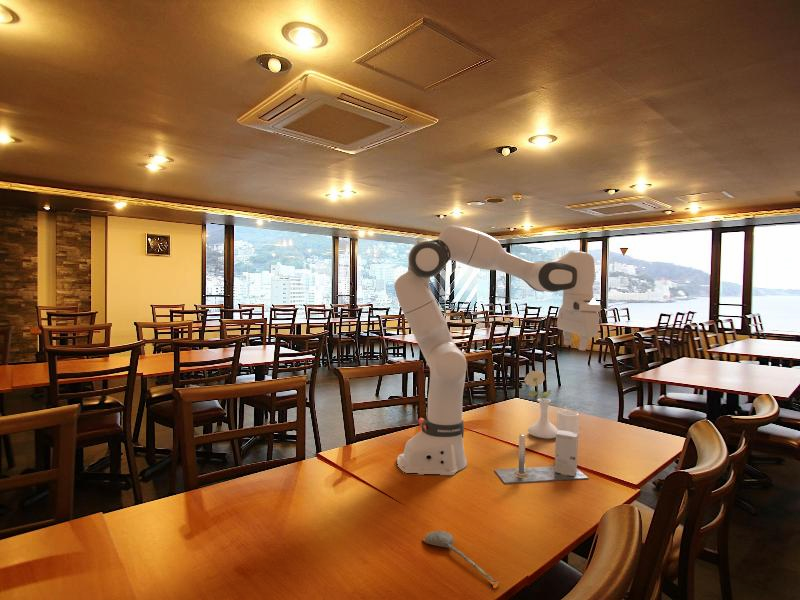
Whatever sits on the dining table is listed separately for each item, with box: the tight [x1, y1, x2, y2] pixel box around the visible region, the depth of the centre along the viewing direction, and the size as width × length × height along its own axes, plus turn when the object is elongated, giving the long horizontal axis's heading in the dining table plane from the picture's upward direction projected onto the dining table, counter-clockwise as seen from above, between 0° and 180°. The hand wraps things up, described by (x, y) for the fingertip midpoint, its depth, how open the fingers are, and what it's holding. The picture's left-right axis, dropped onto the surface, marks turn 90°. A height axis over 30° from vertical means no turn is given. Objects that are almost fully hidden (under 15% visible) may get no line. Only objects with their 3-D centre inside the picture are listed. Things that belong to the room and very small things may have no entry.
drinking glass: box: [556, 409, 580, 434], centre depth 150 cm, size 7×7×15 cm
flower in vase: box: [524, 370, 558, 440], centre depth 169 cm, size 13×11×25 cm
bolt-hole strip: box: [493, 465, 589, 485], centre depth 137 cm, size 26×9×1 cm, turn 97°
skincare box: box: [554, 430, 579, 476], centre depth 137 cm, size 6×4×12 cm
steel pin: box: [516, 433, 527, 477], centre depth 135 cm, size 3×3×12 cm
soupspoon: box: [424, 530, 500, 585], centre depth 96 cm, size 22×3×7 cm
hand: (574, 347), depth 141 cm, fingers open, 8 cm apart
